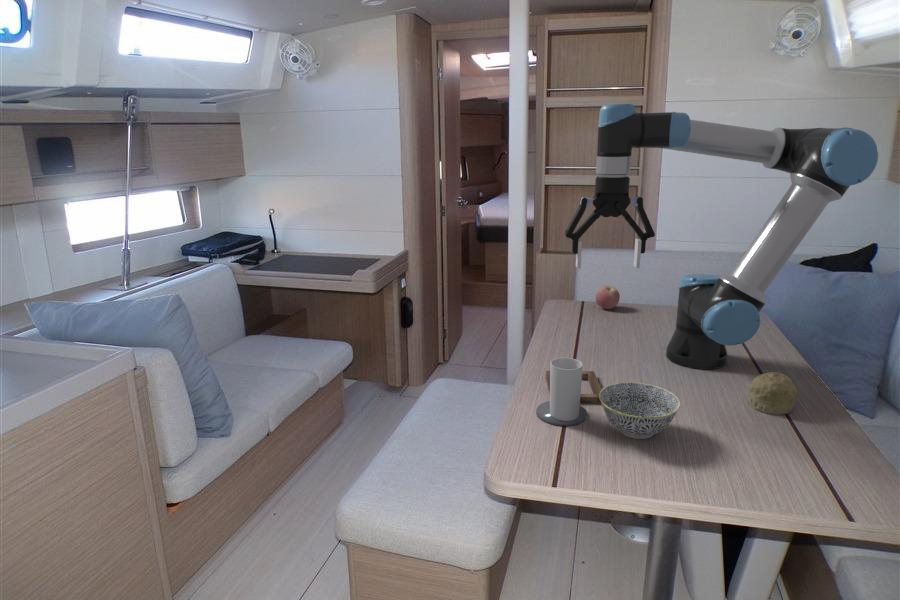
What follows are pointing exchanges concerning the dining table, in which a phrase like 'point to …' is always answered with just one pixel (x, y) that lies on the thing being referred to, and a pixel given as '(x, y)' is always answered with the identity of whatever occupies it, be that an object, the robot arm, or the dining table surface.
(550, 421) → the coaster
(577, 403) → the mug
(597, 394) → the holder
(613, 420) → the bowl
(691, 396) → the dining table surface
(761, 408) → the decorative object
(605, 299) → the apple
